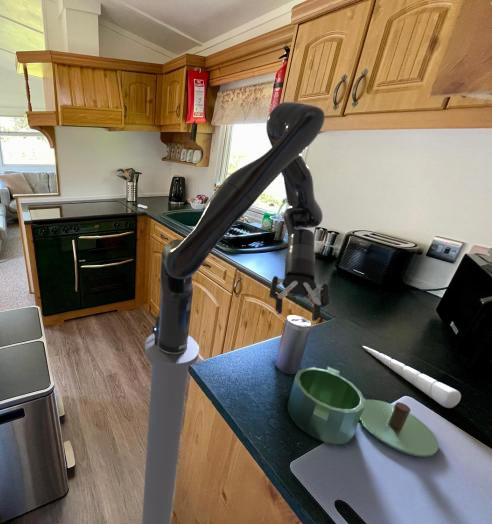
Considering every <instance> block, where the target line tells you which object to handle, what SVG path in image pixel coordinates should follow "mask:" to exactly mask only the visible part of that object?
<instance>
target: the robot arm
mask: <svg viewBox="0 0 492 524" xmlns="http://www.w3.org/2000/svg"><path fill="white" fill-rule="evenodd" d="M325 118H326V115H325V112H324V110H323V109H322V108H321V107H318V106H317V105H313V104H306V103H300V102H295V101H284V102H280V103H279V104H277V105H275V106H274V108H273V109H272V110H271V111H270V113H269V115H268V116H267V120H266V125H265V126H266V127H265V128H266V134H267V137H268V140H269V143H270V145H271V148H269V149H268V150H267V152H265V153H264V154H262V155H261V156H260V157H258V158H257V159H255V160H253V161H251V162H249V163H248V164H245V165H244V166H242V167H240V168H238V169H237V170H235V171H234V172H232V173H230V174H229V176H227V178H225V179H224V181H223V182H222V183H221V184H220V186H218V188H217V189H216V190H215V191H214V193H213V194H212V196H211V197H210V199H209V200H208V202H207V204H206V206H205V207H204V210H203V211H202V213H201V216H200V219H198V221H197V224H196V225H195V227H194V228H193V229H192V231H191V232H190V233H189V234H188V235H187V236H186V237H185V238H184V239H180V238H176V239H172V240H170V241H169V242H167V243H166V245H165V246H164V247H163V249H162V251H161V252H162V253H161V261H160V277H159V278H160V279H159V280H160V283H159V284H160V297H159V312H158V313H159V314H158V315H157V316H156V317H155V324H154V325H152V329H151V330H152V333H151V334H153V333H154V335H155V342H154V344H155V345H157V347H158V349H159V350H160V351H162V352H163V353H165V354H169V355H180V354H182V353H184V352H185V351H186V350H187V344H188V335H189V334H190V333H189V332H190V324H191V315H192V305H193V297H194V286H193V276H194V275H195V274H196V273H197V271H198V270H200V268H201V266H202V265H203V263H204V262H205V260H206V259H207V258H208V256H209V255H210V254H211V252H212V251H213V250H214V249H215V247H216V246H217V245H218V244H219V242H220V241H221V240H222V239H223V238H224V236H226V234H227V233H228V232H229V231H230V230H231V229H232V228H233V227H234V225H235V224H236V223H237V222H238V221H239V220H240V219H241V218H242V217H243V216H244V215H245V213H246V212H248V210H249V209H250V208H251V207H252V206H253V205H254V204H255V202H256V201H257V200H258V199H259V197H260V196H261V195H262V194H263V192H265V190H267V188H268V187H269V186H270V185H271V184H272V183H273V182H274V181H275V180H276V179H277V177H278V176H279V175H280V174H281V175H282V180H283V183H284V190H285V196H286V202H287V204H288V205H289V207H287V208H286V209H285V210H284V213H283V221H284V225H285V229H286V231H287V250H286V254H285V259H284V264H285V265H284V277H283V278H280V277H278V276H277V275H274V276H273V278H272V280H271V284H270V289H269V295H268V297H269V298H271V299H273V300H275V308H274V310H275V312H276V313H277V315H281V314H282V312H283V303H284V300H283V299H284V298H286V296H288V295H290V297H298V298H301V299H304V298H305V299H306V300H307V302H309V303H310V305H311V306H312V308H311V321H312V322H313V321H314V322H316V321H318V319H320V318H321V308H326V306H328V305H329V304H330V299H329V285H328V284H327V283H323V284H317V283H316V281H315V277H316V276H315V275H316V274H315V273H316V252H315V243H316V235H315V233H314V232H313V231H312V230H310V228H311V229H312V228H316V227H319V226H320V225H321V223H322V222H323V219H324V215H323V210H322V208H321V206H320V204H319V203H318V201H317V199H316V197H315V188H314V179H313V176H312V173H311V170H310V168H309V167H308V165H307V163H306V162H305V160H304V158H303V156H302V154H303V152H305V151H306V149H307V148H309V146H310V145H312V143H313V142H314V141H315V140H316V138H317V137H318V136H319V134H320V133H321V131H322V129H323V126H324V124H325V120H326V119H325ZM307 228H308V229H307ZM280 284H281V285H282V286H283V288H284V289H283V290H282V291H281V292H280V293H277V287H278V286H280ZM315 290H317V292H318V294H319V296H320V297H319V298H320V299H319V298H318V296H317V294H316V293H315Z"/></svg>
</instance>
